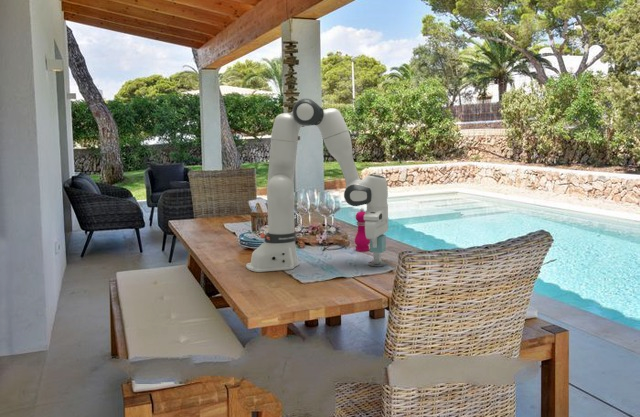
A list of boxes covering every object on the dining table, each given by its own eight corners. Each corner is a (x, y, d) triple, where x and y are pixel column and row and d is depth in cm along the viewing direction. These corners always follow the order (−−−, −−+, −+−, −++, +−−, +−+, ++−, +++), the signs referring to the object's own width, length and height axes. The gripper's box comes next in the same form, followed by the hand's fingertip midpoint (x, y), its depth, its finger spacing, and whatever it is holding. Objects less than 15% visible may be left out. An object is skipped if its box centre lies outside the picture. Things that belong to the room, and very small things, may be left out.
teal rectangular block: (381, 252, 245) (381, 237, 244) (370, 252, 247) (369, 236, 246) (385, 250, 250) (385, 235, 249) (374, 249, 252) (373, 234, 251)
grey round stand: (383, 267, 244) (383, 254, 243) (365, 266, 247) (365, 252, 247) (389, 263, 251) (389, 250, 251) (371, 261, 255) (371, 249, 254)
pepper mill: (369, 252, 274) (368, 209, 271) (353, 251, 275) (353, 209, 273) (370, 248, 281) (370, 207, 278) (355, 248, 282) (355, 206, 280)
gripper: (377, 209, 257) (378, 240, 259) (362, 216, 238) (362, 250, 240) (391, 210, 254) (392, 241, 256) (376, 217, 236) (377, 251, 238)
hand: (377, 245), depth 248 cm, fingers closed on teal rectangular block, 5 cm apart
